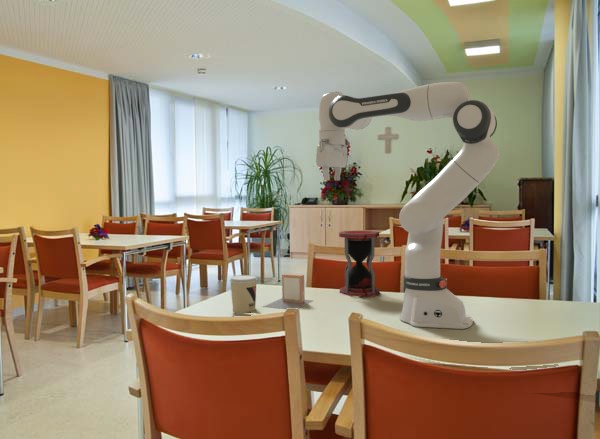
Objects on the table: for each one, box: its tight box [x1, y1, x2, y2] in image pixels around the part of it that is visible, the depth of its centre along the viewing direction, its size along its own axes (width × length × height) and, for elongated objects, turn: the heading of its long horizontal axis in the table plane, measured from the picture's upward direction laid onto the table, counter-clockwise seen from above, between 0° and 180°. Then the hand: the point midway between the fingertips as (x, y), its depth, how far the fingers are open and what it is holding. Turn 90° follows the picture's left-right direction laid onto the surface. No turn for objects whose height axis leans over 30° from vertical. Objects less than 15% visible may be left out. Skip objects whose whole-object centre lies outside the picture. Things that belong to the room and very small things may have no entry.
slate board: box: [262, 297, 314, 310], centre depth 187 cm, size 13×16×1 cm
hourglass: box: [338, 230, 381, 298], centre depth 205 cm, size 16×16×25 cm
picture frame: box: [281, 273, 306, 303], centre depth 190 cm, size 8×3×10 cm, turn 64°
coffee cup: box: [229, 274, 258, 315], centre depth 180 cm, size 9×9×12 cm
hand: (332, 180), depth 178 cm, fingers open, 8 cm apart
